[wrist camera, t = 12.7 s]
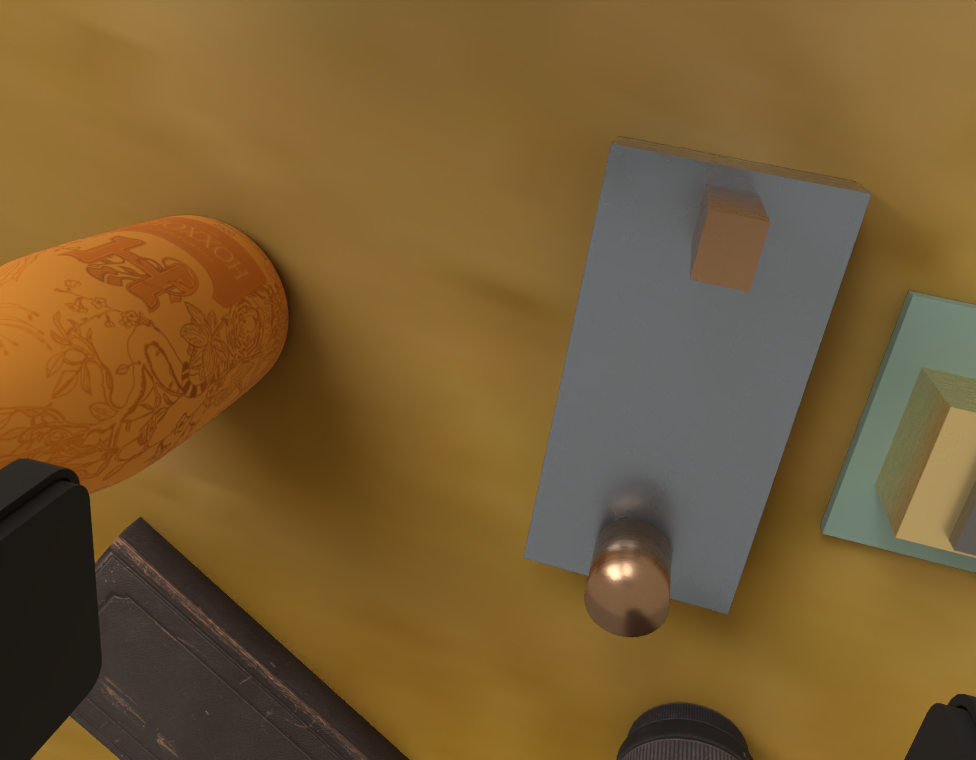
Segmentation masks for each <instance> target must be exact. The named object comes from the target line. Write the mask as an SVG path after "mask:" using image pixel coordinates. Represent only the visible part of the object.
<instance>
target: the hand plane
mask: <svg viewBox="0 0 976 760" xmlns="http://www.w3.org/2000/svg"><path fill="white" fill-rule="evenodd" d="M870 197H871V193H869V192H868V191H867V190H866V189H864V188H863V187H862V186H861V185H859V184H858V183H857V182H856V181H851V180H846V179H840V178H835V177H830V176H825V175H819V174H814V173H809V172H804V171H799V170H793V169H788V168H783V167H778V166H772V165H767V164H762V163H757V162H752V161H746V160H741V159H736V158H731V157H725V156H720V155H715V154H710V153H704V152H699V151H694V150H689V149H684V148H678V147H673V146H668V145H663V144H657V143H652V142H647V141H642V140H636V139H631V138H626V137H621V136H619V137H618V138H617V139H616V140H615V141H614V142H613V143H612V144H611V147H610V152H609V157H608V162H607V166H606V171H605V176H604V180H603V185H602V190H601V195H600V199H599V204H598V209H597V213H596V218H595V223H594V228H593V232H592V237H591V242H590V246H589V251H588V256H587V261H586V265H585V270H584V275H583V279H582V284H581V289H580V294H579V298H578V303H577V308H576V313H575V317H574V322H573V327H572V331H571V336H570V341H569V346H568V350H567V355H566V360H565V364H564V369H563V374H562V379H561V383H560V388H559V393H558V397H557V402H556V407H555V412H554V416H553V421H552V426H551V430H550V435H549V440H548V445H547V449H546V454H545V459H544V464H543V468H542V473H541V478H540V482H539V487H538V492H537V497H536V501H535V506H534V511H533V515H532V520H531V525H530V530H529V534H528V539H527V544H526V548H525V553H524V559H528V560H532V561H535V562H539V563H543V564H546V565H550V566H554V567H557V568H561V569H564V570H568V571H572V572H575V573H579V574H583V575H586V576H588V580H587V585H586V590H585V595H584V600H585V606H586V609H587V611H588V613H589V615H590V616H591V618H592V619H593V620H594V622H595V623H597V624H598V625H599V626H600V627H601V628H603V629H604V630H606V631H608V632H610V633H612V634H615V635H619V636H624V637H639V636H644V635H647V634H649V633H651V632H653V631H655V630H656V629H658V628H659V627H660V626H661V625H662V624H663V623H664V621H665V619H666V618H667V615H668V612H669V600H670V599H673V600H677V601H680V602H684V603H688V604H691V605H695V606H699V607H702V608H706V609H710V610H713V611H717V612H720V613H724V614H728V613H729V610H730V607H731V604H732V601H733V598H734V595H735V592H736V589H737V586H738V584H739V581H740V578H741V575H742V572H743V569H744V566H745V563H746V560H747V557H748V554H749V551H750V548H751V545H752V543H753V540H754V537H755V534H756V531H757V528H758V525H759V522H760V519H761V516H762V513H763V510H764V507H765V504H766V502H767V499H768V496H769V493H770V490H771V487H772V484H773V481H774V478H775V475H776V472H777V469H778V466H779V463H780V461H781V458H782V455H783V452H784V449H785V446H786V443H787V440H788V437H789V434H790V431H791V428H792V425H793V422H794V420H795V417H796V414H797V411H798V408H799V405H800V402H801V399H802V396H803V393H804V390H805V387H806V384H807V381H808V379H809V376H810V373H811V370H812V367H813V364H814V361H815V358H816V355H817V352H818V349H819V346H820V343H821V340H822V338H823V335H824V332H825V329H826V326H827V323H828V320H829V317H830V314H831V311H832V308H833V305H834V302H835V299H836V297H837V294H838V291H839V288H840V285H841V282H842V279H843V276H844V273H845V270H846V267H847V264H848V261H849V258H850V256H851V253H852V250H853V247H854V244H855V241H856V238H857V235H858V232H859V229H860V226H861V223H862V220H863V217H864V215H865V212H866V209H867V206H868V203H869V200H870Z"/></svg>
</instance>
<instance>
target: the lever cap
mask: <svg viewBox="0 0 976 760" xmlns="http://www.w3.org/2000/svg"><path fill="white" fill-rule="evenodd" d="M875 488H876V491H877V493H878V496H879V498H880V501H881V503H882V506H883V508H884V510H885V513H886V515H887V518H888V520H889V523H890V525H891V528H892V530H893V533H894V535H895V537H896V538H899V539H903V540H907V541H911V542H915V543H919V544H923V545H927V546H931V547H935V548H939V549H943V550H947V551H951V552H954V553H958V554H962V555H966V556H970V557H974V558H976V379H974V378H969V377H965V376H960V375H956V374H951V373H947V372H942V371H938V370H933V369H929V368H924V367H922V368H921V371H920V373H919V376H918V378H917V381H916V383H915V386H914V388H913V391H912V393H911V396H910V398H909V401H908V403H907V406H906V408H905V411H904V413H903V416H902V419H901V421H900V424H899V426H898V429H897V431H896V434H895V436H894V439H893V441H892V444H891V446H890V449H889V451H888V454H887V456H886V459H885V461H884V464H883V466H882V469H881V471H880V474H879V476H878V479H877V481H876V484H875Z"/></svg>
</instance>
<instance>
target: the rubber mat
mask: <svg viewBox="0 0 976 760" xmlns="http://www.w3.org/2000/svg"><path fill="white" fill-rule="evenodd" d="M922 367H924V368H929V369H933V370H938V371H942V372H947V373H951V374H956V375H960V376H965V377H969V378H974V379H976V305H974V304H969V303H965V302H960V301H955V300H950V299H945V298H941V297H936V296H931V295H926V294H921V293H917V292H912V291H908V294H907V297H906V299H905V302H904V305H903V307H902V310H901V313H900V315H899V318H898V320H897V323H896V326H895V328H894V331H893V334H892V336H891V339H890V342H889V344H888V347H887V350H886V352H885V355H884V358H883V360H882V363H881V366H880V368H879V371H878V374H877V376H876V379H875V382H874V384H873V387H872V389H871V392H870V395H869V397H868V400H867V403H866V405H865V408H864V411H863V413H862V416H861V419H860V421H859V424H858V427H857V429H856V432H855V435H854V437H853V440H852V443H851V445H850V448H849V451H848V453H847V456H846V459H845V461H844V464H843V466H842V469H841V472H840V474H839V477H838V480H837V482H836V485H835V488H834V490H833V493H832V496H831V498H830V501H829V504H828V506H827V509H826V512H825V514H824V517H823V520H822V522H821V529H822V533H823V534H826V535H830V536H834V537H837V538H841V539H845V540H849V541H853V542H857V543H861V544H865V545H869V546H873V547H876V548H880V549H884V550H888V551H892V552H896V553H900V554H904V555H908V556H912V557H915V558H919V559H923V560H927V561H931V562H935V563H939V564H943V565H947V566H951V567H955V568H958V569H962V570H966V571H970V572H974V573H976V558H974V557H970V556H966V555H962V554H958V553H954V552H951V551H947V550H943V549H939V548H935V547H931V546H927V545H923V544H919V543H915V542H911V541H907V540H903V539H899V538H896V537H895V535H894V533H893V530H892V528H891V525H890V523H889V520H888V518H887V515H886V513H885V510H884V508H883V506H882V503H881V501H880V498H879V496H878V493H877V491H876V488H875V484H876V481H877V479H878V476H879V474H880V471H881V469H882V466H883V464H884V461H885V459H886V456H887V454H888V451H889V449H890V446H891V444H892V441H893V439H894V436H895V434H896V431H897V429H898V426H899V424H900V421H901V419H902V416H903V413H904V411H905V408H906V406H907V403H908V401H909V398H910V396H911V393H912V391H913V388H914V386H915V383H916V381H917V378H918V376H919V373H920V371H921V368H922Z"/></svg>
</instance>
